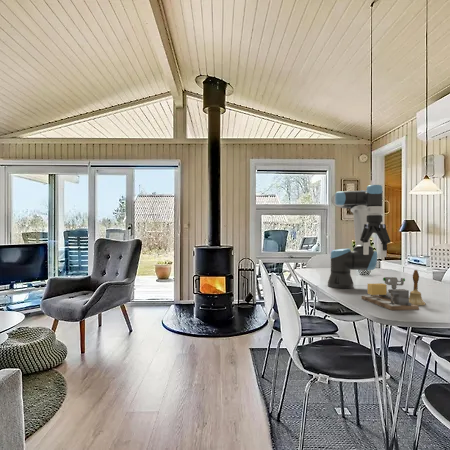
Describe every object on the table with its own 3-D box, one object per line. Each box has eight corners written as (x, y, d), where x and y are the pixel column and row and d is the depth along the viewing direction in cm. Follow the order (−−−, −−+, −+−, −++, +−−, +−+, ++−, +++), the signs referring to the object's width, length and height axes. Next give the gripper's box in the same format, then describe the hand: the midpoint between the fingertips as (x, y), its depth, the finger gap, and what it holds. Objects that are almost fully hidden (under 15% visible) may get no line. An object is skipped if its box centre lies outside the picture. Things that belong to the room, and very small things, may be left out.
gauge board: (361, 298, 167) (361, 283, 167) (385, 298, 168) (385, 282, 168) (391, 310, 143) (391, 291, 143) (418, 309, 144) (418, 291, 145)
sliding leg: (367, 295, 165) (367, 283, 165) (382, 294, 166) (382, 283, 166) (371, 296, 161) (371, 284, 161) (386, 296, 162) (386, 284, 162)
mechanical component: (405, 297, 170) (405, 278, 170) (384, 296, 172) (384, 277, 172) (403, 296, 173) (403, 277, 173) (382, 295, 175) (382, 276, 175)
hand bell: (419, 301, 160) (419, 269, 160) (429, 305, 152) (429, 271, 152) (402, 301, 160) (401, 269, 161) (411, 305, 152) (411, 271, 152)
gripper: (353, 215, 181) (353, 253, 181) (385, 214, 157) (385, 258, 157) (365, 215, 183) (365, 253, 183) (398, 214, 158) (398, 258, 158)
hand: (374, 255), depth 170 cm, fingers open, 13 cm apart
